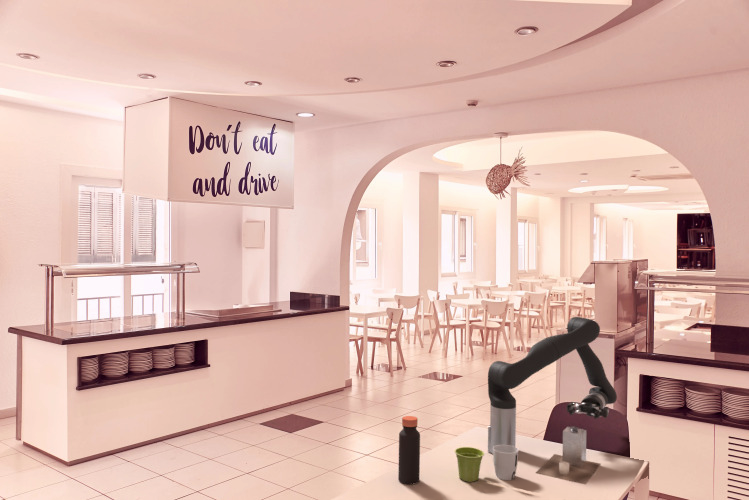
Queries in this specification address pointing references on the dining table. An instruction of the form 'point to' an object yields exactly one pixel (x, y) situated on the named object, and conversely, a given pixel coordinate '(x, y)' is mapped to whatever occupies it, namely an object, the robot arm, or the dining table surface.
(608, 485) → the dining table surface
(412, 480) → the bottle
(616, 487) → the dining table surface
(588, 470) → the walnut board
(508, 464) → the cup
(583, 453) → the steel cover
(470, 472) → the plant pot
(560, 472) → the beige cylinder
